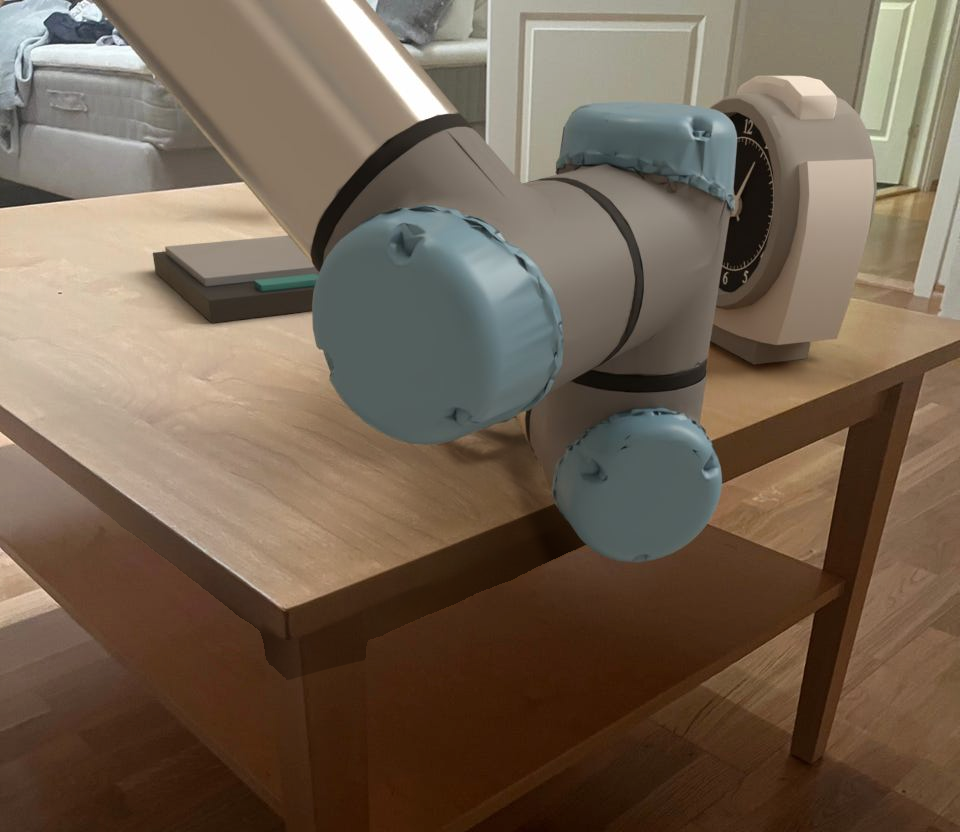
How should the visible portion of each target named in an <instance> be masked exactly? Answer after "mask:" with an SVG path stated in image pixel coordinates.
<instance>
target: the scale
mask: <svg viewBox="0 0 960 832" xmlns="http://www.w3.org/2000/svg"><path fill="white" fill-rule="evenodd" d="M152 259H153V264H154V265H153V266H154V272H155V274H156V275H158V276H159V277H160V278H161V279H162V280H163V281H164V282H165V283H167V284H168V285H169V286H170V288H172V289H173V290H175V292H176V293H178V295H180V296H181V297H183V299H184V300H185V301H187V302H188V303H189V304H190V305H191V306H192V307H193V308H194V309H195V310H197V311H198V312H199V313H200V314H201V315H202V316H203V317H204V318H205V319H206V320H208V322H210V323H211V324H214V323H223V322H231V321H239V320H248V319H255V318H264V317H272V316H280V315H287V314H288V315H289V314H298V313H304V312H305V313H306V312H312V301H313V292H314V288H315V284H316V281H317V278H318V275H319V272H318V270H317V269H316V268H315V267H314V265H313V264H312V263H311V262H310V261H309V259H308V258H307V257H306V256H305V255H304V253H303V252H302V251H301V250H300V249H299V247H298V246H297V245H296V244H295V243H294V241H293V240H292V239H291V238H290V237H289V236H288V235H279V236H278V235H277V236H269V237H266V236H265V237H257V238H246V239H234V240H223V241H212V242H201V243H189V244H177V245H176V244H175V245H166V246H164V251H156V252H155V251H154V252H152Z"/></svg>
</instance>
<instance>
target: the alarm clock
mask: <svg viewBox="0 0 960 832" xmlns="http://www.w3.org/2000/svg"><path fill="white" fill-rule="evenodd" d="M709 108H710V109H714V110H717V111H719V112H722V113H723V114H725V115H726V116H727V117H728V118H729V119H730V120H731V121H732V122H733V124H734V126H735V130H736V133H737V150H736V162H735V175H734V187H733V199H734V201H735V206H734V211H733V214H732V215H730V218H729V224H728V231H727V237H726V243H725V250H724V256H723V263H722V269H721V275H720V282H719V288H718V295H717V301H716V307H715V314H714V320H713V327H712V333H711V339H710V343H713V344H715V345H717V346H719V347H721V348H722V349H724V350H726V351H728V352H730V353H732V354H734V355H735V356H738V357H739V358H741V359H743V360H745V361H746V362H748V363H750V364H752V365H761V364H769V363H778V362H787V361H798V360H806V359H808V356H809V352H810V346H811V343H812V342H818V341H828V340H837V339H838V337H839V334H840V331H841V328H842V326H843V322H844V319H845V317H846V313H847V311H848V308H849V305H850V302H851V299H852V295H853V293H854V288H855V285H856V281H857V278H858V275H859V271H860V268H861V264H862V261H863V256H864V253H865V248H866V244H867V240H868V237H869V234H870V231H871V227H872V224H873V220H874V215H875V214H874V213H875V208H876V207H875V206H876V199H877V192H878V186H877V183H878V182H877V161H876V158H875V153H874V148H873V143H872V139H871V136H870V134H869V131H868V130H867V127H866V125H865V123H864V122H863V119H862V117H861V115H860V114H859V113H858V112H857V111H856V110H855V109H854V108H853V107H852V106H851V105H850V104H849V103H848V102H847V101H846V100H844V99H842V98H840V97H838V96H837V95H836V94H835V93H834V91H833V90H832V89H830V88H829V87H828V86H827V84H825V82H823V80H822V79H817V78H814V77H809V76H805V75H756V76H754V77H752V78H751V79H749V80H747V81H746V82H744V83H742V84H741V85H739V87H738V89H737V91H736V92H735V94H731V95H727V96H725V97H723V98H722V99H720V100H718V101H717V102H715V103H714V104H712V105H711V106H710V107H709Z"/></svg>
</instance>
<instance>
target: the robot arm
mask: <svg viewBox="0 0 960 832" xmlns="http://www.w3.org/2000/svg"><path fill="white" fill-rule="evenodd" d="M91 1H92V3H93V4H94V5H95V6H96V7H97V8H98V10H99V11H100V12H101V13H102V14H103V16H104V17H105V18H106V20H107V21H108V22H109V23H110V24H111V25H112V26H113V27H114V29H115V30H116V31H117V32H118V34H119V35H120V36H121V38H123V40H124V41H125V43H127V44H128V45H129V47H130V48H131V49H132V51H134V52H135V54H136V55H137V56H138V58H139V59H140V60H141V61H142V62H143V64H145V66H146V67H147V69H148V70H149V71H150V72H151V73H152V74H153V75H154V76H155V78H156V79H157V80H158V81H159V83H160V84H161V85H162V86H163V87H164V89H165V90H166V91H167V92H168V93H169V94H170V96H171V97H172V98H173V100H174V101H175V102H176V103H177V105H179V107H180V108H181V109H182V110H183V111H184V112H185V114H186V115H187V116H188V117H189V119H190V120H191V121H192V122H193V123H194V125H196V127H197V128H198V129H199V130H200V131H201V133H202V134H203V136H205V138H206V139H207V140H208V142H209V143H210V144H211V145H212V146H213V147H214V149H216V151H218V153H219V154H220V156H221V157H222V158H223V159H224V160H225V162H226V163H227V164H228V165H229V167H231V169H232V170H233V171H234V172H235V174H236V175H237V176H238V177H239V179H240V180H241V181H242V182H243V183H244V184H245V186H247V188H248V189H249V190H250V192H251V193H252V194H253V195H254V196H255V197H256V199H257V200H258V201H259V202H260V203H261V205H262V206H263V207H264V209H265V210H267V212H268V213H269V214H270V216H272V218H273V219H274V220H275V221H276V223H277V224H278V225H279V226H280V228H282V230H283V231H284V233H286V235H287V236H289V237H290V238H291V239H292V240H293V241H294V243H295V244H296V245H297V246H298V247H299V249H300V250H301V251H302V252H303V253H304V255H305V256H306V257H307V258H308V259H309V261H310V262H311V263H312V264H313V265H314V267H315V268H316V269H317V270H318V272H319V275H318V278H317V281H316V284H315V288H314V292H313V301H312V311H311V313H312V314H311V317H312V318H311V321H312V331H313V336H314V337H313V338H314V342H315V346H316V348H317V349H318V350H321V351H322V352H323V356H324V359H325V362H326V364H327V366H328V368H329V372H330V373H329V382H330V384H331V385H332V387H333V389H334V390H335V392H336V393H337V395H338V396H339V398H340V399H341V400H342V402H343V403H344V404H345V405H346V406H347V408H348V409H350V411H351V412H352V413H353V414H354V415H355V416H356V417H357V418H358V419H360V421H362V422H363V423H364V424H366V425H367V426H369V427H370V428H371V429H373V430H375V431H377V432H378V433H380V434H382V435H384V436H385V437H388V438H390V439H393V440H396V441H400V442H403V443H406V444H410V445H418V446H419V445H420V446H432V445H441V444H446V443H449V442H454V441H456V440H459V439H461V438H463V437H466V436H469V435H471V434H475V433H476V432H479V431H481V430H484V429H486V428H488V427H491V426H494V425H496V424H502V423H506V422H509V421H511V420H512V419H514V418H515V419H516V421H517V423H518V425H519V427H520V429H521V431H522V433H523V435H524V437H525V439H526V441H527V443H528V444H529V447H530V449H531V450H532V452H533V454H534V456H535V459H536V461H538V464H539V466H540V468H541V470H542V472H543V474H544V476H545V477H544V478H545V479H546V481H547V484H548V485H549V489H550V490H551V497H552V499H553V500H554V505H555V506H556V508H557V509H558V511H559V514H560V515H561V517H563V519H564V520H566V521H567V522H568V523H569V525H570V526H571V528H572V530H573V531H574V532H575V533H576V535H577V536H578V537H579V539H580V541H582V543H584V544H585V545H586V546H587V547H588V548H590V549H591V550H592V551H594V552H595V553H597V554H599V555H600V556H603V557H605V558H608V559H611V560H614V561H618V562H625V563H638V564H639V563H642V562H649V561H655V560H658V559H662V558H665V557H668V556H670V555H672V554H674V553H676V552H678V551H679V550H681V549H683V548H684V547H685V546H687V545H688V544H690V543H692V541H693V540H694V539H696V537H698V536H699V535H700V533H701V532H702V531H703V530H704V529H705V528H706V527H707V525H708V524H709V522H710V521H711V519H712V517H713V516H714V514H715V512H716V510H717V507H718V504H719V502H720V498H721V495H722V487H723V475H722V468H721V464H720V460H719V456H718V455H717V453H716V451H715V450H714V447H713V442H712V440H711V439H710V437H708V435H707V430H706V429H705V428H704V427H703V426H702V425H701V418H702V410H703V405H704V404H703V403H704V397H705V390H706V384H707V383H706V382H707V374H708V373H707V370H708V369H707V366H708V361H709V351H710V345H711V341H710V339H711V333H712V327H713V320H714V314H715V307H716V301H717V295H718V288H719V282H720V275H721V269H722V263H723V256H724V250H725V243H726V237H727V231H728V224H729V218H730V215H732V214H733V211H734V206H735V201H734V199H733V187H734V175H735V162H736V150H737V133H736V130H735V126H734V124H733V122H732V121H731V120H730V119H729V118H728V117H727V116H726V115H725V114H723V113H722V112H719V111H717V110H714V109H710V107H705V106H700V105H699V106H698V105H691V104H681V103H669V102H668V103H667V102H649V101H607V102H593V103H588V104H584V105H580V106H578V107H577V108H576V109H574V110H573V111H572V112H571V114H570V115H569V116H568V119H567V121H566V122H565V123H564V126H563V127H562V136H561V144H560V149H559V156H558V158H557V160H556V161H555V173H554V174H555V175H550V176H545V177H542V178H539V179H535V180H530V181H526V182H522V181H520V180H519V179H518V177H517V176H516V175H515V174H514V173H513V172H512V171H511V169H510V168H509V167H508V166H507V165H506V163H504V161H503V160H502V159H501V157H499V156H498V155H497V153H496V152H495V151H494V150H493V149H492V148H491V146H489V144H488V143H487V142H486V141H485V140H484V138H483V137H482V136H481V135H480V134H479V133H478V131H477V130H476V129H475V128H474V127H473V126H472V125H471V123H470V122H469V121H468V120H467V119H466V118H465V117H464V116H463V115H462V114H461V113H460V112H459V111H458V109H457V108H456V107H455V106H454V105H453V103H452V102H451V101H450V100H449V98H448V97H447V96H446V95H445V94H444V93H443V91H442V90H441V89H440V87H438V85H437V84H436V83H435V81H434V80H433V79H432V78H431V77H430V75H429V74H428V73H427V72H426V71H425V70H424V68H423V67H422V66H421V65H420V64H419V62H418V61H417V59H415V58H414V56H413V55H412V54H411V53H410V51H409V50H408V49H407V48H406V47H405V45H404V44H403V43H402V42H401V41H400V40H399V38H398V37H397V36H396V34H394V32H393V31H392V30H391V28H389V26H388V25H387V23H386V22H385V21H384V20H383V19H382V18H381V17H380V15H379V14H378V13H377V12H376V10H375V9H374V8H373V7H372V6H371V5H370V3H369V2H368V1H367V0H91ZM4 2H5V0H0V9H1V8H2V5H4Z"/></svg>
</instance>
